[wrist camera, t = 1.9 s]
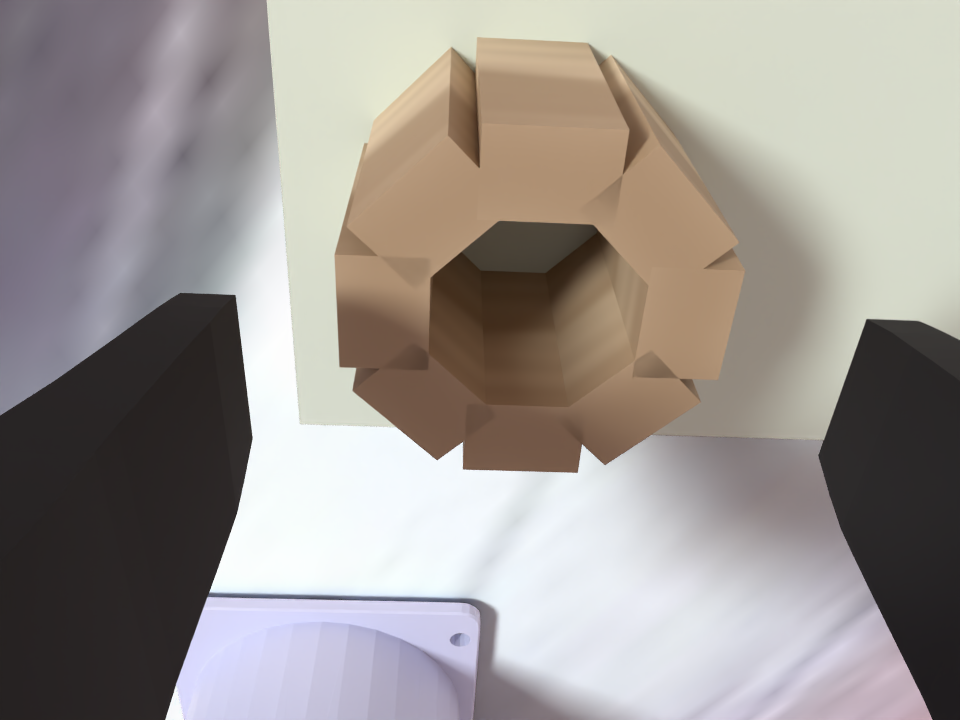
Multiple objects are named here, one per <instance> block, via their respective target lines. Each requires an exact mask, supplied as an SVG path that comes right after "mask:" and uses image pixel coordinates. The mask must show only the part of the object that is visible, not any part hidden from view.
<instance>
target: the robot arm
mask: <svg viewBox="0 0 960 720" xmlns="http://www.w3.org/2000/svg"><path fill="white" fill-rule="evenodd" d="M251 444H252V430H251V421H250V413H249V405H248V396H247V388H246V380H245V371H244V363H243V355H242V346H241V338H240V329H239V321H238V313H237V304H236V296H235V295H220V294H193V293H180V294H178V295H176V296H175V297H173V298H171V299H170V300H168V301H167V302H165V303H164V304H162V305H161V306H159V307H158V308H156V309H155V310H154V311H152V312H151V313H149V314H148V315H146V316H145V317H144V318H142V319H141V320H139V321H138V322H137V323H135V324H134V325H133V326H131V327H130V328H128V329H127V330H126V331H124V332H123V333H122V334H120V335H119V336H117V337H116V338H115V339H113V340H112V341H110V342H109V343H108V344H106V345H105V346H103V347H102V348H101V349H99V350H98V351H96V352H95V353H93V354H92V355H91V356H89V357H88V358H86V359H85V360H84V361H82V362H81V363H79V364H78V365H76V366H75V367H74V368H72V369H71V370H69V371H68V372H67V373H65V374H64V375H62V376H61V377H59V378H58V379H57V380H55V381H54V382H52V383H51V384H49V385H47V386H46V387H44V388H43V389H41V390H40V391H38V392H37V393H35V394H33V395H32V396H30V397H29V398H27V399H26V400H24V401H22V402H21V403H19V404H18V405H16V406H15V407H13V408H11V409H10V410H8V411H7V412H5V413H4V414H2V415H0V720H165V718H166V715H167V712H168V709H169V706H170V702H171V699H172V696H173V693H174V689H175V686H176V687H177V691H178V695H179V700H180V704H181V709H182V713H183V718H184V720H473V714H474V702H475V689H476V677H477V665H478V652H479V640H480V627H481V621H480V612H479V611H478V609H477V608H476V607H474V606H472V605H470V604H467V603H451V602H405V601H360V600H314V599H268V598H222V597H208V594H209V591H210V589H211V586H212V583H213V580H214V578H215V575H216V572H217V569H218V566H219V563H220V561H221V558H222V555H223V552H224V549H225V546H226V544H227V541H228V538H229V535H230V532H231V529H232V526H233V523H234V520H235V517H236V514H237V511H238V506H239V502H240V497H241V493H242V488H243V484H244V479H245V474H246V469H247V464H248V459H249V454H250V449H251ZM818 456H819V460H820V463H821V466H822V470H823V473H824V477H825V480H826V484H827V487H828V491H829V494H830V497H831V500H832V503H833V506H834V509H835V512H836V515H837V518H838V521H839V524H840V527H841V530H842V532H843V534H844V536H845V539H846V541H847V543H848V545H849V547H850V549H851V552H852V554H853V556H854V558H855V560H856V562H857V564H858V566H859V568H860V570H861V572H862V575H863V577H864V579H865V581H866V583H867V585H868V587H869V589H870V591H871V593H872V595H873V597H874V599H875V601H876V603H877V605H878V607H879V609H880V612H881V614H882V616H883V618H884V620H885V622H886V624H887V626H888V628H889V630H890V632H891V634H892V636H893V638H894V640H895V642H896V644H897V646H898V648H899V650H900V652H901V654H902V656H903V658H904V660H905V662H906V664H907V666H908V668H909V670H910V672H911V674H912V677H913V679H914V681H915V683H916V685H917V687H918V689H919V691H920V693H921V695H922V697H923V699H924V701H925V703H926V706H927V708H928V710H929V713H930V715H931V717H932V719H933V720H960V340H959V339H957V338H955V337H953V336H951V335H949V334H947V333H945V332H943V331H941V330H939V329H936V328H934V327H932V326H930V325H927V324H925V323H923V322H920V321H910V320H884V319H866V322H865V325H864V328H863V330H862V333H861V336H860V339H859V342H858V345H857V348H856V350H855V353H854V356H853V359H852V362H851V365H850V367H849V370H848V373H847V376H846V379H845V382H844V384H843V387H842V390H841V393H840V396H839V399H838V401H837V404H836V407H835V410H834V413H833V416H832V418H831V421H830V424H829V427H828V430H827V433H826V436H825V438H824V441H823V444H822V447H821V450H820V453H819V455H818ZM458 633H463V634H458Z"/></svg>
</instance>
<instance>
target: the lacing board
mask: <svg viewBox="0 0 960 720" xmlns="http://www.w3.org/2000/svg"><path fill="white" fill-rule="evenodd" d="M267 11H268V23H269V36H270V49H271V62H272V74H273V87H274V100H275V113H276V126H277V138H278V151H279V164H280V177H281V189H282V202H283V215H284V228H285V240H286V253H287V266H288V279H289V292H290V304H291V317H292V330H293V343H294V355H295V368H296V381H297V394H298V407H299V419H300V424H311V425H343V426H376V427H396V426H395V425H393V424H392V423H391V422H390V421H388V420H387V419H386V418H385V417H383V416H382V415H381V414H380V413H379V412H377V411H376V410H375V409H374V408H372V407H371V406H370V405H369V404H368V403H366V402H365V401H364V400H363V399H361V398H360V397H359V396H358V395H357V394H355V393H354V392H353V391H352V389H353V383H354V378H355V372H356V368H344V367H339V347H338V324H337V301H336V279H335V256H334V254H335V251H336V247H337V243H338V239H339V236H340V232H341V228H342V224H343V221H344V217H345V213H346V209H347V206H348V202H349V198H350V195H351V191H352V187H353V183H354V180H355V176H356V172H357V168H358V165H359V161H360V157H361V153H362V150H363V146H364V143H368V141H369V137H370V133H371V129H372V125H373V121H374V119H376V118H377V117H378V116H379V115H380V114H381V113H382V112H383V111H384V110H385V109H386V108H387V107H388V106H389V105H390V104H391V103H392V102H393V101H395V100H396V99H397V98H398V97H399V96H400V95H401V94H402V93H403V92H404V91H405V90H406V89H407V88H408V87H409V86H410V85H411V84H412V83H414V82H415V81H416V80H417V79H418V78H419V77H420V76H421V75H422V74H423V73H424V72H425V71H426V70H427V69H428V68H429V67H430V66H431V65H433V64H434V63H435V62H436V61H437V60H438V59H439V58H440V57H441V56H442V55H443V54H444V53H445V52H446V51H447V50H448V49H449V48H450V47H452V48H453V49H454V50H455V51H456V53H457V54H458V55H459V56H460V57H461V58H462V59H463V60H464V62H465V63H466V64H467V65H468V66H469V67H470V68H471V69H472V70H473V72H474V73H475V68H476V47H477V37H484V38H504V39H524V40H543V41H563V42H583V43H588V45H589V47H590V49H591V51H592V53H593V55H594V57H595V59H596V61H597V63H598V65H600V64H601V63H602V62H603V61H604V60H606V59H607V58H608V57H609V56H610V55H612V56H613V58H614V59H615V60H616V61H617V63H618V64H619V65H620V66H621V68H622V69H623V70H624V71H625V73H626V74H627V75H628V77H629V78H630V79H631V80H632V82H633V83H634V84H635V85H636V87H637V88H638V89H639V90H640V92H641V93H642V94H643V95H644V97H645V98H646V99H647V100H648V102H649V103H650V104H651V105H652V107H653V108H654V109H655V110H656V112H657V113H658V114H659V115H660V117H661V118H662V119H663V121H664V122H665V123H666V124H667V126H668V127H669V128H670V129H671V131H672V132H673V133H674V134H675V136H676V138H677V139H678V141H679V143H680V144H681V146H682V148H683V149H684V151H685V153H686V154H687V156H688V158H689V159H690V161H691V163H692V164H693V166H694V168H695V169H696V171H697V173H698V174H699V176H700V178H701V179H702V181H703V183H704V184H705V186H706V188H707V189H708V191H709V193H710V194H711V196H712V198H713V199H714V201H715V203H716V204H717V206H718V208H719V209H720V211H721V213H722V214H723V216H724V218H725V219H726V221H727V223H728V224H729V226H730V228H731V229H732V231H733V233H734V234H735V236H736V238H737V239H738V241H739V243H738V244H737V245H736V246H734V247H733V248H732V249H733V250H734V252H735V254H736V255H737V257H738V259H739V261H740V262H741V264H742V266H743V268H744V269H745V274H744V278H743V282H742V286H741V290H740V294H739V298H738V302H737V306H736V310H735V314H734V318H733V322H732V326H731V330H730V334H729V338H728V342H727V346H726V350H725V354H724V358H723V362H722V366H721V370H720V374H719V378H718V380H702V379H692V380H693V382H694V385H695V388H696V390H697V393H698V395H699V398H700V401H701V403H699V404H698V405H696V406H695V407H693V408H692V409H690V410H688V411H687V412H685V413H684V414H682V415H681V416H679V417H678V418H676V419H675V420H673V421H672V422H670V423H669V424H667V425H666V426H664V427H662V428H661V429H659V430H658V431H656V432H655V433H653V434H652V435H670V436H702V437H735V438H768V439H800V440H824V438H825V436H826V433H827V430H828V427H829V424H830V421H831V418H832V416H833V413H834V410H835V407H836V404H837V401H838V399H839V396H840V393H841V390H842V387H843V384H844V382H845V379H846V376H847V373H848V370H849V367H850V365H851V362H852V359H853V356H854V353H855V350H856V348H857V345H858V342H859V339H860V336H861V333H862V330H863V328H864V325H865V322H866V319H884V320H910V321H920V322H923V323H925V324H927V325H930V326H932V327H934V328H936V329H939V330H941V331H943V332H945V333H947V334H949V335H951V336H953V337H955V338H957V339H959V340H960V0H267ZM596 233H597V228H596V227H595V226H594V225H591V224H566V223H542V222H518V221H498V222H497V223H496V224H494V225H493V226H492V227H491V228H490V229H488V230H487V231H486V232H485V233H484V234H482V235H481V236H480V237H479V238H477V239H476V240H475V241H474V242H473V243H471V244H470V245H469V246H468V247H467V248H465V249H464V250H463V251H462V253H463V254H464V255H465V256H466V257H467V258H468V259H469V260H470V261H472V262H473V263H474V264H475V265H476V266H477V267H478V268H479V269H480V270H481V271H506V272H532V273H546V272H547V271H549V270H550V269H551V268H553V267H554V266H555V265H556V264H558V263H559V262H560V261H562V260H563V259H564V258H565V257H567V256H568V255H569V254H571V253H572V252H573V251H574V250H576V249H577V248H578V247H580V246H581V245H582V244H583V243H585V242H586V241H587V240H588V239H590V238H591V237H592V236H594V235H595V234H596Z"/></svg>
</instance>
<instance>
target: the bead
mask: <svg viewBox="0 0 960 720" xmlns="http://www.w3.org/2000/svg"><path fill="white" fill-rule="evenodd" d="M498 221H518V222H542V223H566V224H591V225H594V226H595V227H596V228H597V233H596V234H595V235H594V236H592V237H591V238H590V239H588V240H587V241H586V242H585V243H583V244H582V245H581V246H580V247H578V248H577V249H576V250H574V251H573V252H572V253H571V254H569V255H568V256H567V257H565V258H564V259H563V260H562V261H560V262H559V263H558V264H556V265H555V266H554V267H553V268H551V269H550V270H549V271H547V272H546V273H532V272H506V271H481V270H480V269H479V268H478V267H477V266H476V265H475V264H474V263H473V262H472V261H470V260H469V259H468V258H467V257H466V256H465V255H464V254H463V253H462V251H463V250H464V249H465V248H467V247H468V246H469V245H470V244H471V243H473V242H474V241H475V240H476V239H477V238H479V237H480V236H481V235H482V234H484V233H485V232H486V231H487V230H488V229H490V228H491V227H492V226H493V225H494V224H496V223H497V222H498ZM738 243H739V241H738V239H737V238H736V236H735V234H734V233H733V231H732V229H731V228H730V226H729V224H728V223H727V221H726V219H725V218H724V216H723V214H722V213H721V211H720V209H719V208H718V206H717V204H716V203H715V201H714V199H713V198H712V196H711V194H710V193H709V191H708V189H707V188H706V186H705V184H704V183H703V181H702V179H701V178H700V176H699V174H698V173H697V171H696V169H695V168H694V166H693V164H692V163H691V161H690V159H689V158H688V156H687V154H686V153H685V151H684V149H683V148H682V146H681V144H680V143H679V141H678V139H677V138H676V136H675V134H674V133H673V132H672V131H671V129H670V128H669V127H668V126H667V124H666V123H665V122H664V121H663V119H662V118H661V117H660V115H659V114H658V113H657V112H656V110H655V109H654V108H653V107H652V105H651V104H650V103H649V102H648V100H647V99H646V98H645V97H644V95H643V94H642V93H641V92H640V90H639V89H638V88H637V87H636V85H635V84H634V83H633V82H632V80H631V79H630V78H629V77H628V75H627V74H626V73H625V71H624V70H623V69H622V68H621V66H620V65H619V64H618V63H617V61H616V60H615V59H614V58H613V56H612V55H610V56H609V57H608V58H607V59H606V60H604V61H603V62H602V63H601V64H600V65H598V63H597V61H596V59H595V57H594V55H593V53H592V51H591V49H590V47H589V45H588V43H583V42H563V41H543V40H524V39H504V38H484V37H477V47H476V68H475V73H474V72H473V70H472V69H471V68H470V67H469V66H468V65H467V64H466V63H465V62H464V60H463V59H462V58H461V57H460V56H459V55H458V54H457V53H456V51H455V50H454V49H453V48H452V47H450V48H449V49H448V50H447V51H446V52H445V53H444V54H443V55H442V56H441V57H440V58H439V59H438V60H437V61H436V62H435V63H434V64H433V65H431V66H430V67H429V68H428V69H427V70H426V71H425V72H424V73H423V74H422V75H421V76H420V77H419V78H418V79H417V80H416V81H415V82H414V83H412V84H411V85H410V86H409V87H408V88H407V89H406V90H405V91H404V92H403V93H402V94H401V95H400V96H399V97H398V98H397V99H396V100H395V101H393V102H392V103H391V104H390V105H389V106H388V107H387V108H386V109H385V110H384V111H383V112H382V113H381V114H380V115H379V116H378V117H377V118H376V119H374V121H373V125H372V129H371V133H370V137H369V141H368V143H364V146H363V150H362V153H361V157H360V161H359V165H358V168H357V172H356V176H355V180H354V183H353V187H352V191H351V195H350V198H349V202H348V206H347V209H346V213H345V217H344V221H343V224H342V228H341V232H340V236H339V239H338V243H337V247H336V251H335V254H334V256H335V279H336V301H337V324H338V347H339V367H344V368H356V372H355V378H354V383H353V389H352V391H353V392H354V393H355V394H357V395H358V396H359V397H360V398H361V399H363V400H364V401H365V402H366V403H368V404H369V405H370V406H371V407H372V408H374V409H375V410H376V411H377V412H379V413H380V414H381V415H382V416H383V417H385V418H386V419H387V420H388V421H390V422H391V423H392V424H393V425H395V426H396V427H397V428H398V429H399V430H401V431H402V432H403V433H404V434H406V435H407V436H408V437H409V438H410V439H412V440H413V441H414V442H415V443H417V444H418V445H419V446H420V447H421V448H423V449H424V450H425V451H426V452H428V453H429V454H430V455H431V456H432V457H434V458H435V459H436V460H438V459H440V458H441V457H442V456H444V455H445V454H446V453H448V452H449V451H451V450H452V449H453V448H455V447H456V446H458V445H459V444H460V443H462V442H463V469H467V470H502V471H537V472H572V473H578V467H579V460H580V453H581V447H582V444H583V445H584V446H585V447H586V448H587V449H588V450H589V451H590V452H591V453H592V454H593V455H594V456H596V457H597V458H598V459H599V460H600V461H601V462H602V463H603V464H604V465H606V464H607V463H609V462H610V461H612V460H614V459H615V458H617V457H618V456H620V455H621V454H623V453H624V452H626V451H627V450H629V449H630V448H632V447H633V446H635V445H636V444H638V443H640V442H641V441H643V440H644V439H646V438H647V437H649V436H650V435H652V434H653V433H655V432H656V431H658V430H659V429H661V428H662V427H664V426H666V425H667V424H669V423H670V422H672V421H673V420H675V419H676V418H678V417H679V416H681V415H682V414H684V413H685V412H687V411H688V410H690V409H692V408H693V407H695V406H696V405H698V404H699V403H701V401H700V398H699V395H698V393H697V390H696V388H695V385H694V382H693V380H692V379H702V380H718V378H719V374H720V370H721V366H722V362H723V358H724V354H725V350H726V346H727V342H728V338H729V334H730V330H731V326H732V322H733V318H734V314H735V310H736V306H737V302H738V298H739V294H740V290H741V286H742V282H743V278H744V274H745V269H744V268H743V266H742V264H741V262H740V261H739V259H738V257H737V255H736V254H735V252H734V250H733V249H732V248H733V247H734V246H736V245H737V244H738Z"/></svg>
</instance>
